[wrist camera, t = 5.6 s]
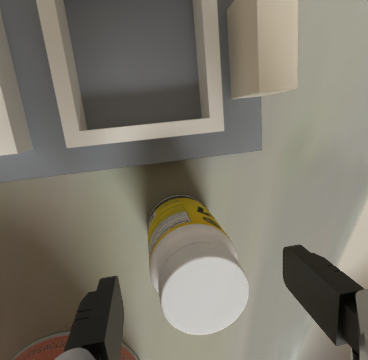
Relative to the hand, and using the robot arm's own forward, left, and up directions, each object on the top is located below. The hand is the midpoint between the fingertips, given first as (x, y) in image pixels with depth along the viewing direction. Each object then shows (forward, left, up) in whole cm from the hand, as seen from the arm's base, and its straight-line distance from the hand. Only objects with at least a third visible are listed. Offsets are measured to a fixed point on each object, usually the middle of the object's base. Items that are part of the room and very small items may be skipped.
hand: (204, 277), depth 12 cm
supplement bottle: (0, 0, -8) cm, 8 cm away
